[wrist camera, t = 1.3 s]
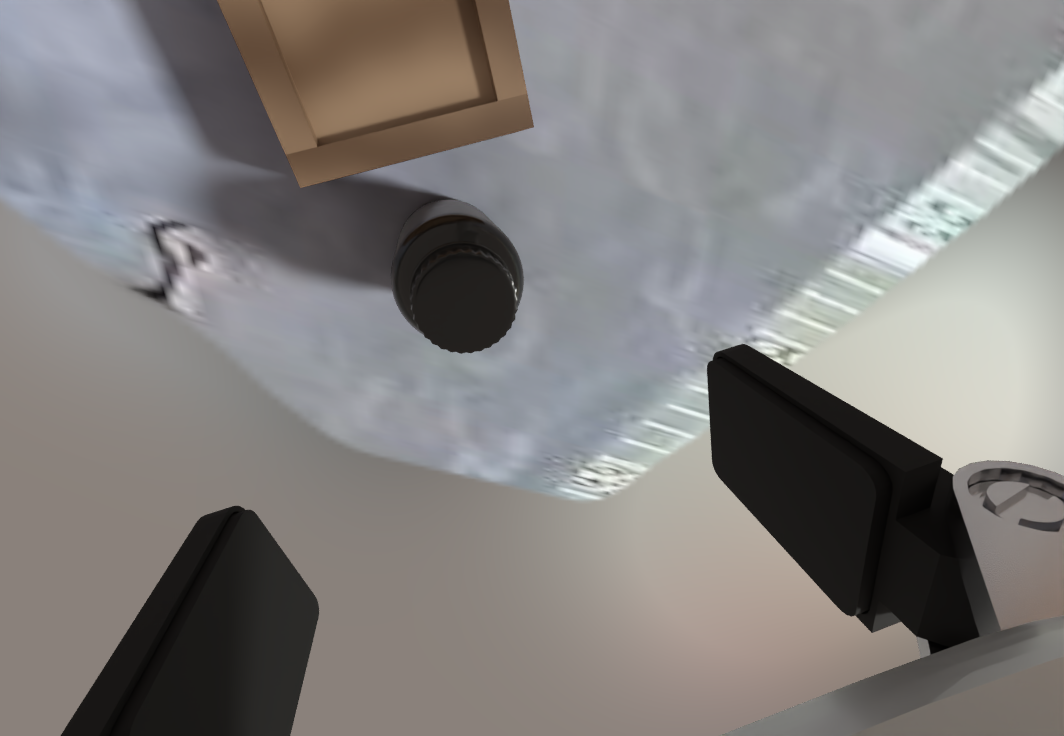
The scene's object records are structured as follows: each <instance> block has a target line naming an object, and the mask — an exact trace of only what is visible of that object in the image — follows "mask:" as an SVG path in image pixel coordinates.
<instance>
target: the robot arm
mask: <svg viewBox="0 0 1064 736" xmlns="http://www.w3.org/2000/svg"><path fill="white" fill-rule="evenodd" d="M707 376H708V395H709V413H710V432H711V450H712V463H713V467H714V469H715V472H716V473H717V475H718V477H719V478H720V479H721V480H722V481H723V482H724V484H725V485H726V486H727V487H728V488H729V489H730V490H731V491H732V492H733V493H734V494H735V496H736V497H737V498H738V499H739V500H740V501H741V502H742V503H743V504H744V505H745V507H747V509H748V510H749V511H750V512H751V513H752V514H753V515H754V516H755V517H756V518H757V519H758V521H759V522H760V523H761V524H762V525H763V526H764V527H765V528H766V529H767V531H768V532H769V533H770V534H771V535H772V536H773V537H774V538H775V539H776V540H777V541H778V543H779V544H780V545H781V546H782V547H783V548H784V549H785V550H786V551H787V552H788V553H789V555H790V556H791V557H792V558H793V559H794V560H795V561H796V562H797V563H798V564H799V566H800V567H801V568H802V569H803V570H804V571H805V572H806V573H807V574H808V575H809V576H810V578H811V579H813V581H814V582H815V583H816V584H817V585H818V586H819V587H820V588H821V590H822V591H823V592H824V593H825V594H826V595H827V596H828V597H829V598H830V599H831V600H832V602H833V603H834V604H835V605H836V606H837V607H838V608H839V609H840V610H841V611H842V612H844V613H845V614H846V615H849V616H854V615H856V617H857V618H859V620H860V621H861V622H862V623H863V624H864V625H865V626H866V627H867V628H868V629H869V630H870V631H871V632H872V633H873V632H875V631H878V630H881V629H883V628H886V627H888V626H891V625H893V624H896V623H898V622H902V623H903V624H904V625H905V626H906V627H907V628H909V630H910V631H912V633H913V634H915V635H916V637H917V643H918V648H919V652H920V659H918V660H915V661H912V662H909V663H907V664H904V665H902V666H899V667H896V668H893V669H891V670H888V671H885V672H882V673H880V674H877V675H874V676H871V677H869V678H866V679H864V680H860V681H858V682H855V683H853V684H850V685H848V686H845V687H843V688H840V689H837V690H835V691H832V692H830V693H827V694H825V695H822V696H820V697H817V698H815V699H812V700H809V701H807V702H804V703H802V704H799V705H797V706H794V707H792V708H789V709H787V710H784V711H781V712H779V713H776V714H774V715H771V716H769V717H766V718H764V719H761V720H758V721H756V722H753V723H751V724H748V725H746V726H743V727H741V728H738V729H735V730H733V731H730V732H728V733H725V734H723V735H720V736H1064V476H1062V475H1060V474H1058V473H1056V472H1052V471H1049V470H1046V469H1043V468H1039V467H1036V466H1033V465H1028V464H1022V463H1016V462H1010V461H982V462H975V463H970V464H968V465H966V466H964V467H962V468H959V469H958V471H957V472H956V473H955V475H953V474H952V473H949V472H948V471H946V470H945V469H943V468H941V464H942V460H943V459H942V458H941V457H939V456H937V455H936V454H934V453H932V452H930V451H929V450H927V449H925V448H924V447H922V446H920V445H918V444H917V443H915V442H913V441H911V440H910V439H908V438H906V437H905V436H903V435H901V434H899V433H898V432H896V431H894V430H893V429H891V428H889V427H887V426H886V425H884V424H882V423H880V422H879V421H877V420H875V419H874V418H872V417H870V416H868V415H867V414H865V413H863V412H862V411H860V410H858V409H856V408H855V407H853V406H851V405H850V404H848V403H846V402H844V401H842V400H841V399H839V398H837V397H836V396H834V395H832V394H831V393H829V392H827V391H825V390H824V389H822V388H820V387H818V386H817V385H815V384H813V383H812V382H810V381H808V380H807V379H805V378H803V377H801V376H800V375H798V374H796V373H794V372H793V371H791V370H789V369H788V368H786V367H784V366H782V365H781V364H779V363H777V362H776V361H774V360H772V359H770V358H769V357H767V356H765V355H764V354H762V353H760V352H758V351H757V350H755V349H753V348H751V347H750V346H748V345H745V344H741V345H737V346H734V347H731V348H728V349H725V350H722V351H718V352H716V353H715V354H714V357H713V361H710V362H709V363H708V365H707ZM318 616H319V606H318V602H317V599H316V597H315V595H314V594H313V592H312V591H311V590H310V588H309V587H308V585H307V584H306V583H305V581H304V580H303V579H302V577H301V576H300V574H299V573H298V572H297V570H296V569H295V567H294V566H293V565H292V564H291V562H290V560H289V559H288V558H287V556H286V555H285V553H284V552H283V551H282V549H281V548H280V546H279V545H278V544H277V542H276V541H275V540H274V538H273V537H272V536H271V534H270V533H269V531H268V530H267V528H266V527H265V526H264V524H263V523H262V522H261V520H260V519H259V517H258V516H257V514H256V513H255V512H254V511H252V510H245V509H244V508H242V507H240V506H232V507H229V508H226V509H223V510H220V511H217V512H214V513H211V514H207V515H205V516H203V517H201V518H200V519H199V520H198V521H197V523H196V524H195V526H194V527H193V529H192V531H191V532H190V534H189V535H188V537H187V538H186V540H185V541H184V543H183V544H182V546H181V548H180V549H179V551H178V552H177V554H176V556H175V557H174V559H173V560H172V562H171V563H170V565H169V566H168V568H167V570H166V571H165V573H164V575H163V576H162V578H161V579H160V581H159V582H158V584H157V585H156V587H155V588H154V590H153V592H152V593H151V595H150V596H149V598H148V599H147V601H146V603H145V604H144V606H143V607H142V609H141V610H140V612H139V614H138V615H137V617H136V618H135V620H134V621H133V623H132V625H131V626H130V628H129V629H128V631H127V633H126V634H125V635H124V637H123V639H122V640H121V642H120V644H119V645H118V646H117V648H116V650H115V651H114V653H113V654H112V656H111V657H110V659H109V661H108V662H107V664H106V665H105V667H104V669H103V670H102V672H101V673H100V675H99V676H98V678H97V680H96V681H95V683H94V684H93V686H92V687H91V689H90V691H89V692H88V694H87V695H86V697H85V698H84V700H83V702H82V703H81V704H80V706H79V708H78V709H77V711H76V712H75V714H74V715H73V717H72V719H71V720H70V722H69V723H68V725H67V726H66V728H65V730H64V731H63V733H62V734H61V736H290V734H291V730H292V725H293V721H294V717H295V713H296V709H297V705H298V700H299V696H300V692H301V687H302V684H303V680H304V675H305V671H306V667H307V662H308V658H309V654H310V650H311V646H312V642H313V637H314V633H315V629H316V625H317V621H318Z"/></svg>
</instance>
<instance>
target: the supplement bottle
mask: <svg viewBox="0 0 1064 736" xmlns="http://www.w3.org/2000/svg"><path fill="white" fill-rule="evenodd" d="M391 285H392V291H393V296H394V299H395V302H396V304H397V306H398V308H399V310H400V312H401V313H402V315H403V316H404V317H405V319H406V320H407V321H408V322H409V323H410V324H411V325H412V326H413V327H414V328H415V329H416V330H418V331H419V332H420V333H422V334H423V335H424V336H425V337H426V338H427V339H430V340H431V342H432V344H435V345H438V346H439V347H440V348H441V349H447V350H448V351H450V352H458V353H465V352H467V353H473V352H474V351H482V350H483V349H484V348H489V347H491V346H492V345H493V344H494V343H497V342H499V340H500V338H502V337H504V336H505V335H506V332H507V331H508V330H509V329H510V328H511V325H512V322H513V321H514V320H515V313H516V312H517V310H518V305H519V303H520V300H521V297H522V292H523V285H524V276H523V268H522V264H521V260H520V258H519V255H518V253H517V251H516V249H515V247H514V246H513V244H512V243H511V241H510V240H509V238H508V237H507V236H506V235H505V234H504V233H503V232H502V231H501V230H500V229H499V228H498V227H497V226H496V225H495V224H494V223H493V222H492V221H491V220H490V219H489V218H488V217H487V216H486V215H485V214H484V213H483V212H481V211H480V210H479V209H477V208H476V207H474V206H472V205H470V204H468V203H465V202H462V201H458V200H450V199H445V200H437V201H433V202H430V203H428V204H426V205H424V206H422V207H420V208H419V209H418V210H416V211H415V212H414V213H413V214H412V215H411V216H410V217H409V218H408V220H407V221H406V223H405V224H404V226H403V228H402V231H401V233H400V236H399V239H398V243H397V247H396V251H395V255H394V259H393V263H392V270H391Z"/></svg>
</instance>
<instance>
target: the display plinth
mask: <svg viewBox="0 0 1064 736" xmlns="http://www.w3.org/2000/svg"><path fill="white" fill-rule="evenodd" d="M217 1H218V4H219V6H220V8H221V10H222V13H223V15H224V17H225V19H226V22H227V24H228V26H229V28H230V31H231V33H232V35H233V37H234V40H235V42H236V44H237V46H238V49H239V51H240V53H241V55H242V58H243V60H244V62H245V64H246V67H247V69H248V71H249V73H250V76H251V78H252V80H253V82H254V85H255V87H256V89H257V91H258V94H259V96H260V98H261V100H262V103H263V105H264V107H265V109H266V112H267V114H268V116H269V118H270V121H271V123H272V125H273V128H274V130H275V132H276V134H277V137H278V139H279V141H280V143H281V146H282V148H283V150H284V152H285V155H286V157H287V159H288V161H289V164H290V166H291V168H292V170H293V173H294V175H295V177H296V179H297V182H298V184H299V186H300V188H302V187H306V186H311V185H315V184H319V183H323V182H327V181H331V180H335V179H338V178H342V177H346V176H350V175H354V174H358V173H361V172H365V171H369V170H373V169H377V168H381V167H384V166H388V165H392V164H396V163H400V162H404V161H407V160H411V159H415V158H419V157H423V156H427V155H430V154H434V153H438V152H442V151H446V150H450V149H453V148H457V147H461V146H465V145H469V144H473V143H476V142H480V141H484V140H488V139H492V138H496V137H499V136H503V135H507V134H511V133H515V132H518V131H522V130H525V129H529V128H532V127H534V125H533V120H532V115H531V110H530V105H529V100H528V95H527V90H526V85H525V80H524V75H523V70H522V65H521V60H520V55H519V50H518V45H517V40H516V35H515V30H514V25H513V20H512V15H511V10H510V5H509V0H217Z"/></svg>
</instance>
